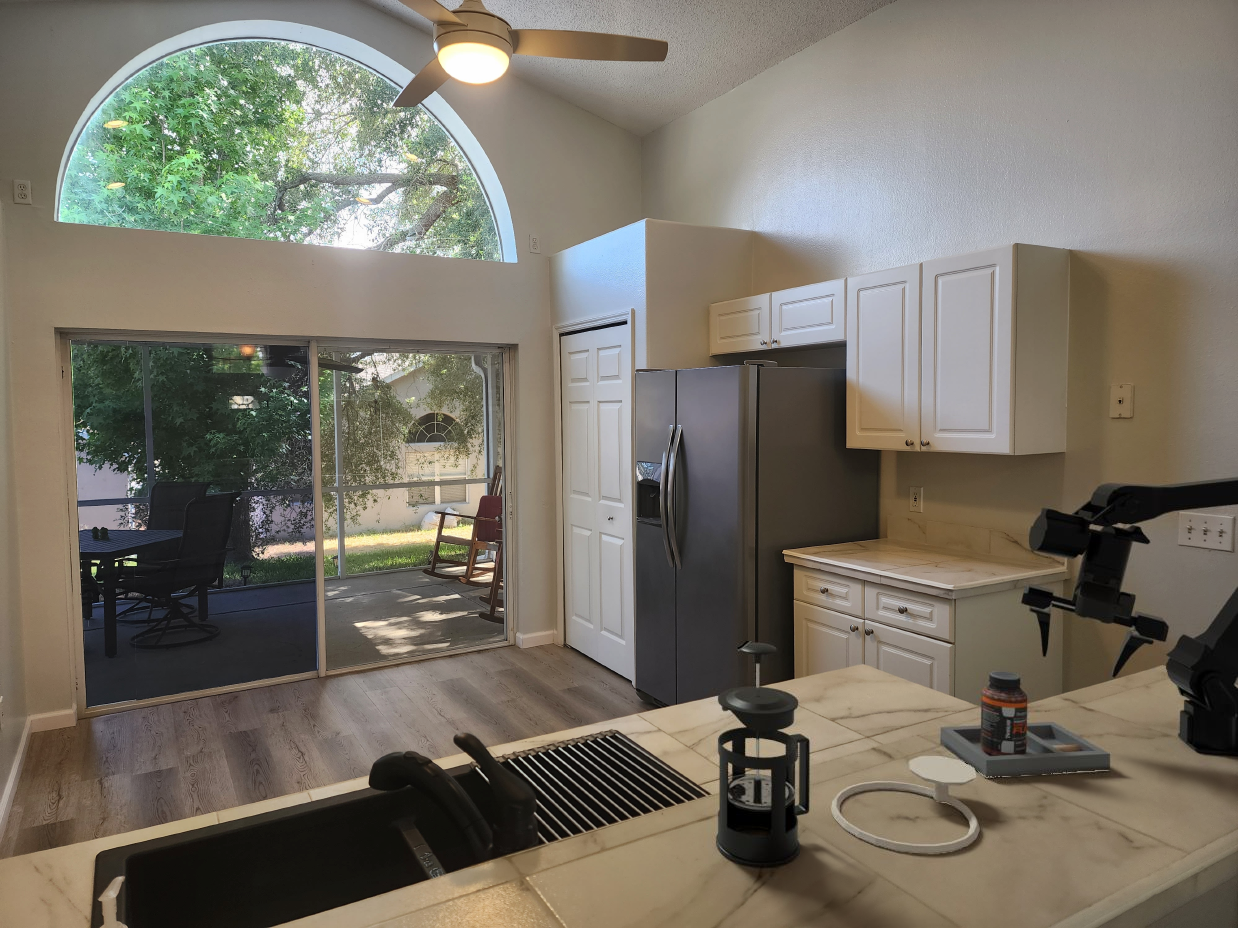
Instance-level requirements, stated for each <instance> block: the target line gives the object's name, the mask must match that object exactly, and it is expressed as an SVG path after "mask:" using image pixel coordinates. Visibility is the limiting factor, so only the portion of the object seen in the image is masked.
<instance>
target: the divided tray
mask: <svg viewBox="0 0 1238 928" xmlns="http://www.w3.org/2000/svg"><path fill="white" fill-rule="evenodd" d="M939 738H940V743H939V744H940V745H942V747H944V748H945V749H947V750H948V751H950V752H951V754H954V755H955V756H956V757H957V758H959V759H960V760H961V759H962V760H963V761H962V760H961V761H962V762H964V763H965V762H966V763H968V764H969V765H971V766H972V767H974V768H975V769H976V770H977V771H979V772H980V773H982V774H983V775H985V776H986V777H988V776H989V777H990V776H992V777H995V776H996V777H998V776H1000V777H1002V776H1021V775H1040V776H1043V775H1042V774H1051V773H1052V774H1053V773H1063V772H1066V773H1067V772H1077V771H1095V770H1110V771H1111V768H1110V767H1111V753H1110V752H1108V751H1106V750H1104V748H1103V749H1102V748H1101V747H1100V746H1097V745H1095V744H1093V743H1092V742H1090V741H1088V740H1086V739H1085V738H1083V737H1081V736H1079V735H1078V734H1075V733H1074V732H1072V731H1070V730H1069V729H1067V728H1065V727H1063V726H1061V725H1060V724H1058V723H1056V722H1055V721H1043V722H1041V721H1040V722H1027V745H1026V747H1027V749H1026V754H1023V755H1004V756H992V755H990V754H987V753H986V752H985V751H983V750H982V748H981V724H977V725H961V726H960V725H959V726H940V737H939ZM976 770H975V771H976ZM977 771H976V772H977Z"/></svg>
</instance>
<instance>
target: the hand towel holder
mask: <svg viewBox="0 0 1238 928" xmlns="http://www.w3.org/2000/svg"><path fill="white" fill-rule="evenodd" d="M908 769H909V771H911V772H912V774H913V775H915V777H917V778H918V777H919V778H920V779H921V780H923V781H925V782H928V783H932V784H935V789H934V788H931V787H927V786H925V785H924V786H923V785H920V784H919V785H918V784H914V783H911V782H910V783H909V782H901V781H894V780H892V781H887V780H885V781H884V780H882V781H876V780H875V781H868V782H860V783H856V784H853V785H850V786H848V787H845V788H843V789H842V790H840V791H838V794H837V795H836V796H835V797H834V799H832V802H831V809H830V811H831V813H832V816H833V818H834V820H835V821H836V822H837V823H838V825H839V826H840V827H841V828H843V830H845V831H846V832H848V833H849V832H850V833H849V834H850V835H852V834H853V835H852V836H854V835H855V836H856V837H855V836H854V837H855V838H857V837H858V839H859V838H861V839H863V840H862V841H864V840H866V841H868V842H870V843H869V844H871V843H873V844H874V845H873V844H872V845H873V846H875V845H878V846H877V847H879V846H882V847H884V848H883V849H886V848H888V849H887V850H890V849H892V850H891V851H893V850H895V851H894V852H899V851H900V852H899V853H905V852H909V853H908V854H912V853H935V854H934V855H937V854H936V853H943V852H950V853H952V852H951V851H955V850H957V851H959V850H958V849H960V850H962V849H961V848H963V847H966V846H967V847H968V845H969V844H970V843H971V844H972V843H974V842H975V841H976V839H978V838H977V837H979V833H980V831H981V828H980V825H979V821H978V819H977V817H976V815H975V814H974V812H972V811H971V810H972V809H970V808H969V807H968V806H967V805H965V804H964V803H963V802H961V801H960V800H959V799H957V798H955V797H953V796H951V795H950V794H949V786H964V785H966V784H968V783H971V782H972V781H973V780H975V779H976V778H977V771H976V770H975V768H973V767H971V766H969V765H968V764H966V763H965V762H964V761H962V760H961V759H960V760H959V759H955V758H950V757H946V756H942V755H920V756H918V757H915V758H913V759H910V760H908ZM875 790H894V791H902V792H910V793H913V794H917V795H922V794H923V796H926V797H930V798H932V797H933V798H932V799H934V801H935V800H936V801H939V802H947V803H949V804H951V805H953V806H954V807H956V808H957V809H958V810H960V811H961V812H962V813H964V814H963V815H964V816H965V818H966V819H967V820H968V823H969V830H968V833H967V834H966V835H965V836H963V837H961V838H958V839H956V840H953V841H949V842H943V843H936V844H928V843H927V844H925V843H923V844H916V843H910V842H909V843H908V842H902V841H894V840H891V839H887V838H883V837H880V836H876V835H873V834H871V833H868V832H866V831H864V830H861V829H859V827H857V826H855V825H853V824H851V823H850V822H849V821H847V820H846V819H845V817H843V815H842V813H841V803H842V802H843V801H844V800H845V799H846V798H848V797H850V796H852V795H855V794H857V793H861V792H866V791H875ZM936 801H935V802H936ZM954 807H953V808H954ZM956 808H955V809H956ZM957 809H956V810H957ZM958 810H957V811H958ZM960 811H959V812H960ZM961 812H960V813H961ZM962 813H961V814H962ZM861 839H860V840H861ZM974 840H975V841H974ZM866 841H865V842H866ZM973 841H974V842H973ZM868 842H867V843H868ZM971 844H970V845H971ZM882 847H881V848H882ZM967 847H966V848H967ZM963 849H964V848H963ZM910 852H911V853H910ZM955 852H956V851H955ZM943 854H944V853H943Z"/></svg>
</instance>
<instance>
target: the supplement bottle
mask: <svg viewBox="0 0 1238 928" xmlns="http://www.w3.org/2000/svg"><path fill="white" fill-rule="evenodd" d="M988 674H989V675H988V676H989V677H988V678H989V679H988V682H989V684H988V685H986V686H983V688H982V689H981V699H980V700H981V702H980V706H981V707H980V710H981V711H980V725H981V748H982V750H983V751H985V752H986V753H987V754H990V755H992V756H1004V755H1023V754H1026V749H1027V747H1026V745H1027V723H1028V696H1027V695H1028V694H1027V693H1025V691H1024V690H1023V689H1022V688H1021V685H1022V683H1021V676H1020V675H1019V674H1017V673H1014V672H1009V671H1003V670H993V671H990V672H989V673H988Z"/></svg>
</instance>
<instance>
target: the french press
mask: <svg viewBox="0 0 1238 928" xmlns="http://www.w3.org/2000/svg"><path fill="white" fill-rule="evenodd" d="M739 651H741V652H742V653H744V654H749V655H753V663H754V664H755V678H756V679H755V686H739V687H733V688H729V689H726V690H723V691H722V692H720V693H719V694H718V695H717V702H718V704H719V706H721V711H723V712H728V711H730V712H731V713H732V714H733V715H734V716H735V717H736V718H737V719H738V721H740V723H741V724H743V726H742V727H736V728H731V729H728V730H726V731H724V732H722V733H721V734H720V735H718V738H717V754H718V755H719V757H718V758H719V774H718V775H719V781H718V782H719V791H718V792H719V797H718V798H719V810H718V811H717V834H716V836H715V844H716V847H717V850H718V851H719V853H721V854H722V855H723V856H724V857H725V858H727V859H729V860H730V861H732V862H735V863H737V864H740V865H743V866H746V867H752V868H761V869H762V868H765V869H766V868H777V867H781V866H785V865H787V864H790V863H791V862H793V861H794V860H796V859H797V857H798V855H799V854H800V850H801V845H800V841H799V820H798V816H799V817H800V816H803V815H807V814H809V813H810V776H811V775H810V774H811V773H810V770H811V769H810V764H811V763H810V761H811V760H810V759H811V758H810V753H811V752H810V751H811V749H810V748H811V747H810V744H811V743H810V741H811V740H810V739H809V738H808V737H806V736H805V735H803V734H801V733H794V734H789V733H786V732H784V731H781V730H785V729H787V728H789V727H790V726H792V725H793V724H794V721H795V710H797V709H798V707H799V699H797V697H796V696H794V695H793V694H791V693H789V692H787V691H785V690H782V689H777V688H773V687H765V686H760V664H761V665H762V662H763V655H765V656H766V655H771V654H775V653H776V652H777V651H778V650H777V647H775V646H774V645H771V644H769V643H764V642H747V643H746V644H745V645H744V646H743V647H741V648H739ZM746 739H755V756H750V755H749V756H748V755H746ZM760 739H761V740H762V739H763V740H768V741H769V740H770V741H774V742H778V743H781V745H784V746H785V754H782V755H779V756H778V755H776V756H770V757H769V756H768V757H767V756H766V757H765V756H764V757H762V756H760ZM729 742H731V750H730V749H728V748H726V747H725V746H724V745H725V744H727V743H729ZM797 761H798V804H796V763H797ZM729 764H730V765H731V777H729ZM746 769H748V770H755V773H746ZM769 770H770V775H768V774H760V771H769ZM746 828H748V829H749V828H753V829H754V828H756V829H757V828H759V829H763V830H765V829H766V830H769V831H770V835H752V834H747V833H743V832H740V831H738V830H742V829H746Z"/></svg>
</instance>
